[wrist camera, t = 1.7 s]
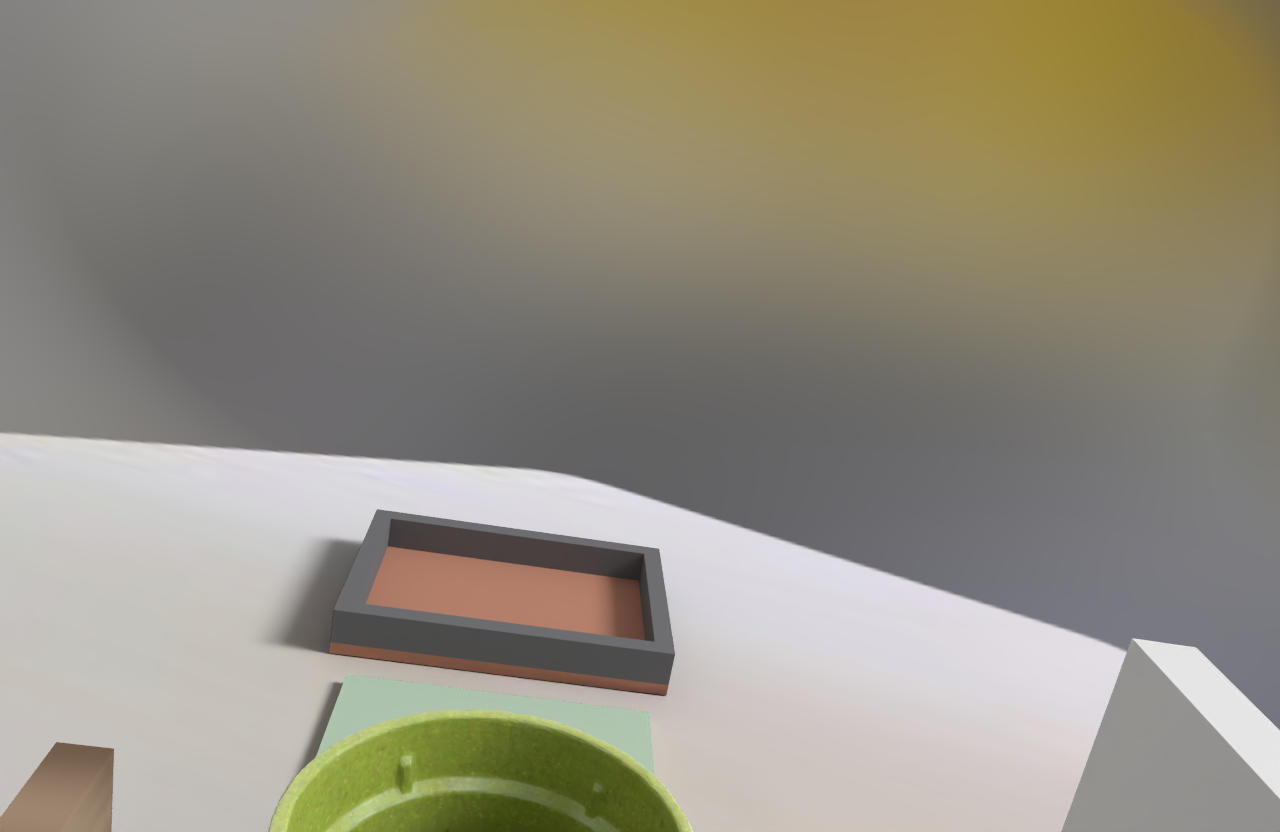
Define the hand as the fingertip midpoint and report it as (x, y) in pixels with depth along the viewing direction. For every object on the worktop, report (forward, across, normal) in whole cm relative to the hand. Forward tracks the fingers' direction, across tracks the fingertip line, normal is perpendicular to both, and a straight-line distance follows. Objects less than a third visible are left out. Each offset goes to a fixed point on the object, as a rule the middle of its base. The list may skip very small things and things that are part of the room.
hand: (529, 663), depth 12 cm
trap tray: (+35, 0, -19) cm, 39 cm away
